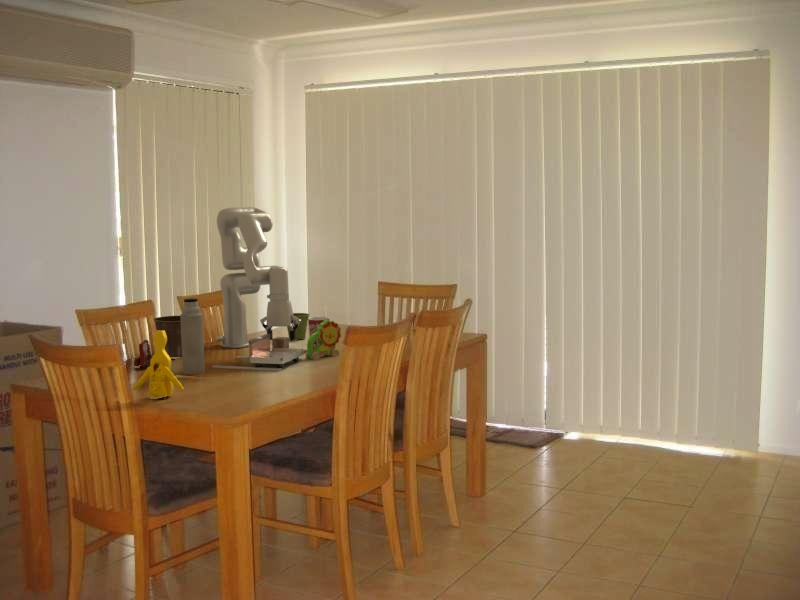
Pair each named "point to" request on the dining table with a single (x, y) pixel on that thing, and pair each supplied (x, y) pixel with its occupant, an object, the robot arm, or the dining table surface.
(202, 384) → the dining table surface
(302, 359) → the grey flat rectangular piece
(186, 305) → the thermos bottle
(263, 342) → the grey l-shaped piece
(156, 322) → the plant pot
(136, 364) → the toy fire truck
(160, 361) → the figure statuette
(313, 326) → the mug
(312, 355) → the toy lion
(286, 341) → the walnut block
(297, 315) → the plant pot
